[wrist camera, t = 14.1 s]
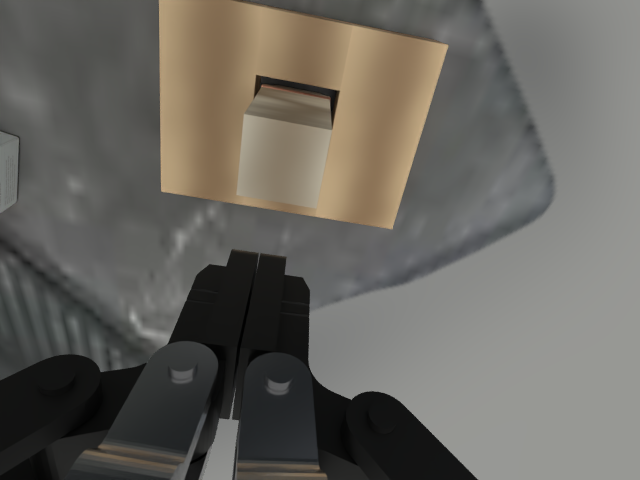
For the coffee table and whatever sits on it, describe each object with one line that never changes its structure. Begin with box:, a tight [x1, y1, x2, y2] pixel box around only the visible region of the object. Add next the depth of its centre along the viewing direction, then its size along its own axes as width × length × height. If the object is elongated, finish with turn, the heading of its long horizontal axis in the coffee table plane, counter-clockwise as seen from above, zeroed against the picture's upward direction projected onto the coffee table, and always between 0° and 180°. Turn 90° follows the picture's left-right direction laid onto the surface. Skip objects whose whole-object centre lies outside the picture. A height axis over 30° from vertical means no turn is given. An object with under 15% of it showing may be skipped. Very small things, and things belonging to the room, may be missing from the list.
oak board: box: [159, 0, 448, 229], centre depth 27 cm, size 16×12×3 cm
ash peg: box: [236, 84, 332, 208], centre depth 24 cm, size 4×4×10 cm
